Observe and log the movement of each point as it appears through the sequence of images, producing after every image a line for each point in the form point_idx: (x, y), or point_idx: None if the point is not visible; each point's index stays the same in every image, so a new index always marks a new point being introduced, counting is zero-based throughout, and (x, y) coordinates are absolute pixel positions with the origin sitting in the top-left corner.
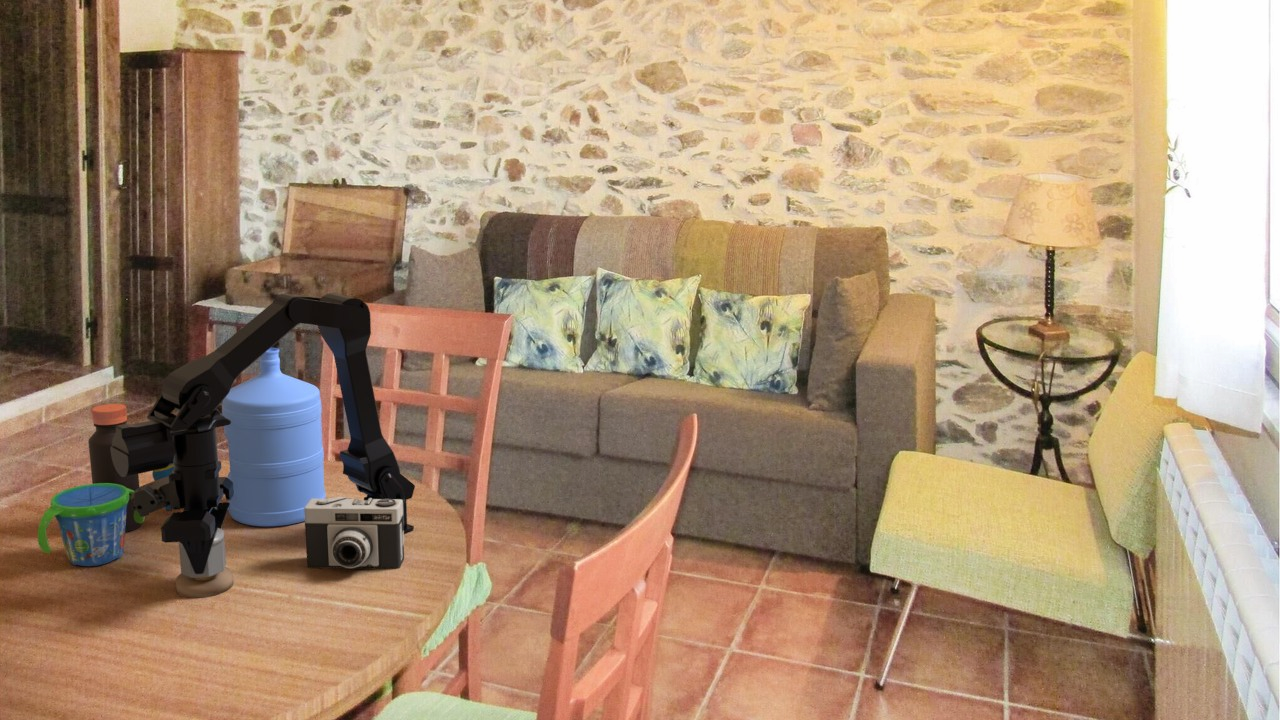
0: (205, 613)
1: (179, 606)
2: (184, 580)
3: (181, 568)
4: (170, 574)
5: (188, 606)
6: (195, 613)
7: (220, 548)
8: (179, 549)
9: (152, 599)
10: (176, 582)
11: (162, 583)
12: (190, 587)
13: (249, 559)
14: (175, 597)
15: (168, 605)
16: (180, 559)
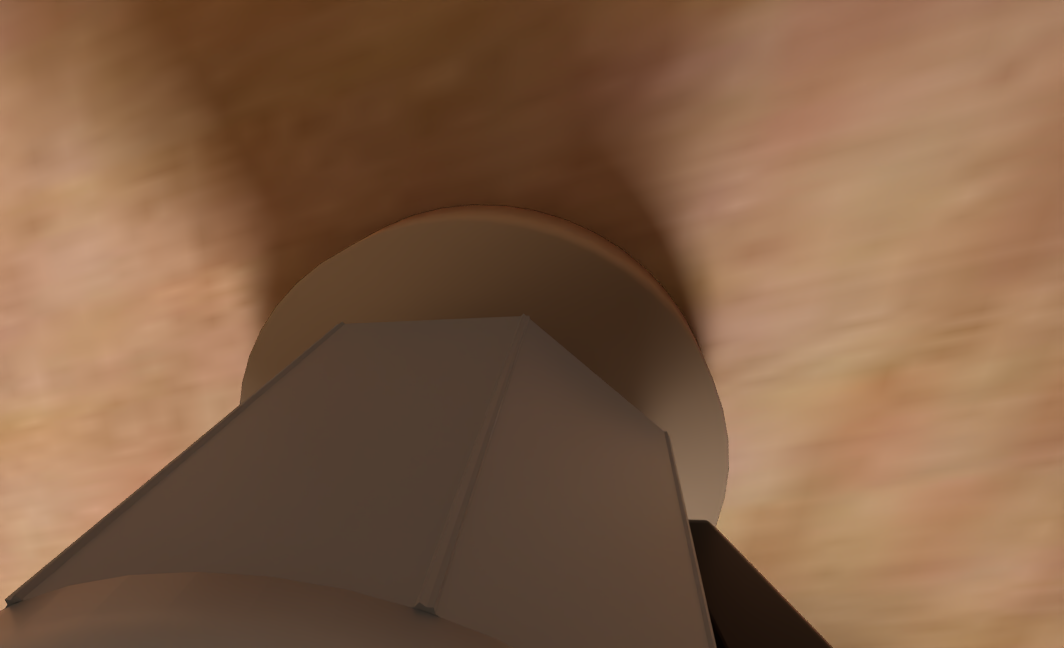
0: (74, 494)
1: (140, 312)
2: (387, 316)
3: (306, 355)
4: (812, 42)
5: (150, 373)
6: (61, 438)
7: None
8: (116, 511)
9: (231, 47)
10: (338, 253)
11: (584, 27)
12: (242, 401)
13: (991, 634)
14: (286, 241)
15: (142, 225)
16: (238, 410)
